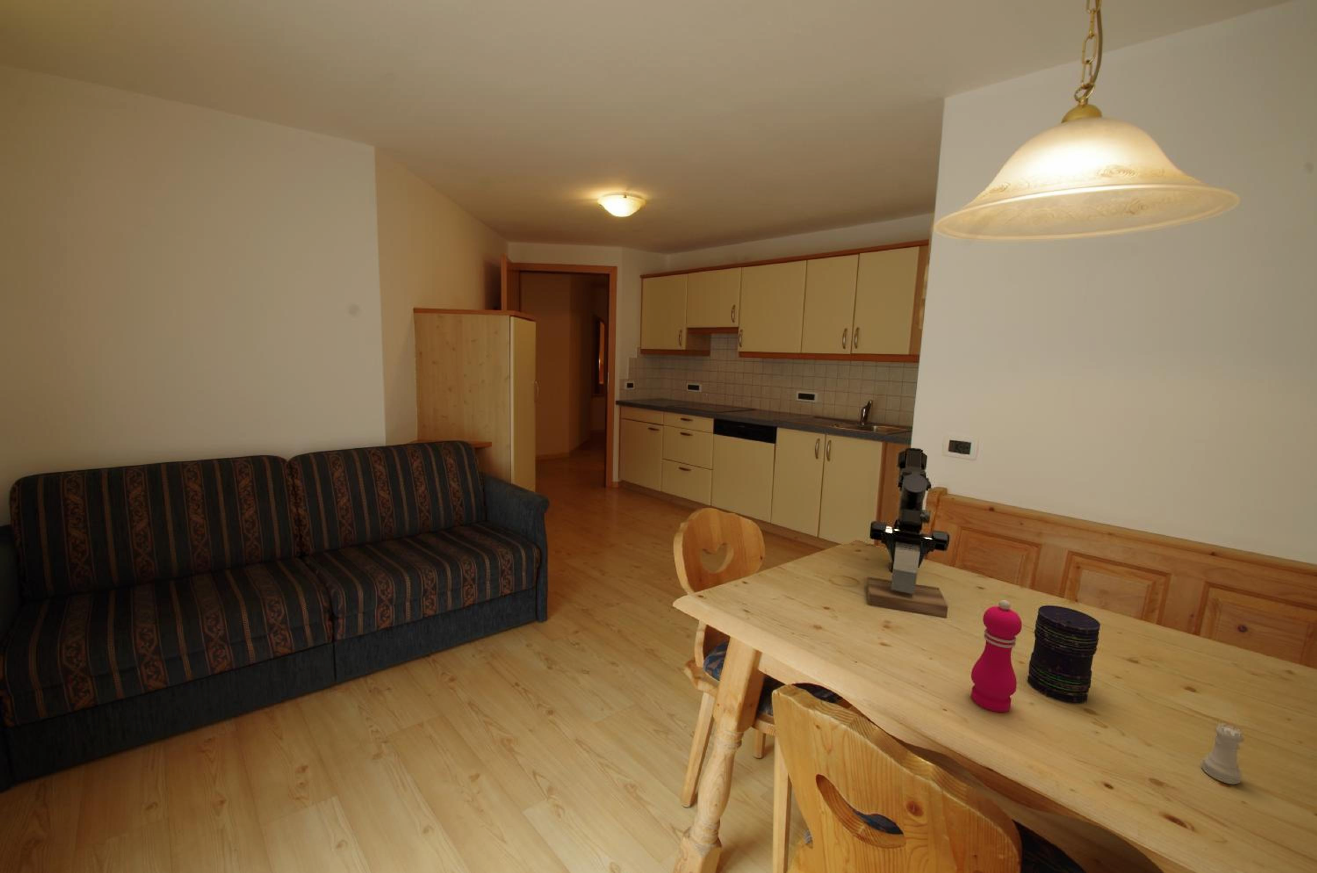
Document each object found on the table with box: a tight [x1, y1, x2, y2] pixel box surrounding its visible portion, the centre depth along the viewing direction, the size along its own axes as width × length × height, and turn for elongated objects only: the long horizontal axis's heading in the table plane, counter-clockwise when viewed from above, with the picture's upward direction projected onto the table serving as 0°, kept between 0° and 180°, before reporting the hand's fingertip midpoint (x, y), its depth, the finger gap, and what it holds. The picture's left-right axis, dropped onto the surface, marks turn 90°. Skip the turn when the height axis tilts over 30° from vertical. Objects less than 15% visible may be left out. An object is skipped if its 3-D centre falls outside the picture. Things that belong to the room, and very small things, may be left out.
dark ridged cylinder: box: [1026, 604, 1101, 705], centre depth 107 cm, size 10×10×15 cm
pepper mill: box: [970, 599, 1023, 713], centre depth 101 cm, size 7×7×20 cm
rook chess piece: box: [1200, 722, 1245, 785], centre depth 86 cm, size 4×4×8 cm
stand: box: [865, 576, 949, 619], centre depth 144 cm, size 12×18×3 cm, turn 73°
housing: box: [891, 542, 920, 594], centre depth 141 cm, size 6×6×11 cm
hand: (905, 565), depth 140 cm, fingers closed on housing, 5 cm apart
